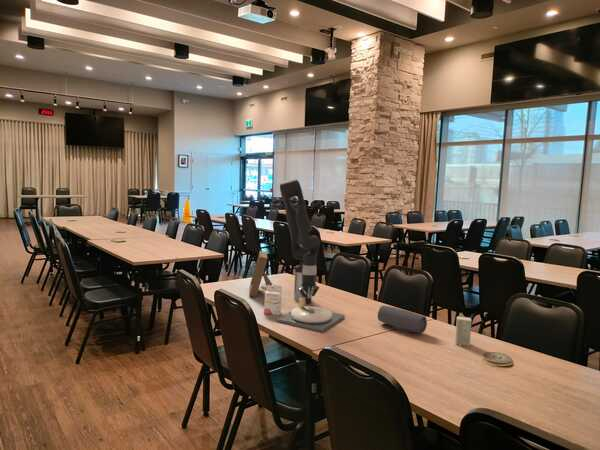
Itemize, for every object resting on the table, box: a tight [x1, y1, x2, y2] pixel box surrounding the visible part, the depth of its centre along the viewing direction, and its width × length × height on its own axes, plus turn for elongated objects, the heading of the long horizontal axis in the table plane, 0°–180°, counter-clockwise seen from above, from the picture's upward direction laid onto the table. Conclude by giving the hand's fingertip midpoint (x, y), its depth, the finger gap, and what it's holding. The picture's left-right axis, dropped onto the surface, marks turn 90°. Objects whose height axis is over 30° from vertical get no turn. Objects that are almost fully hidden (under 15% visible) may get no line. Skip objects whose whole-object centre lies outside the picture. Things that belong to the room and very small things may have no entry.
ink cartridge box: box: [263, 284, 282, 316], centre depth 223 cm, size 9×5×15 cm, turn 84°
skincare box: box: [454, 316, 472, 347], centre depth 189 cm, size 6×4×12 cm
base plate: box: [276, 311, 346, 333], centre depth 215 cm, size 26×26×2 cm
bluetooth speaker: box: [377, 304, 428, 334], centre depth 206 cm, size 23×9×10 cm, turn 47°
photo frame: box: [248, 250, 273, 298], centre depth 262 cm, size 15×22×25 cm
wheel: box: [290, 298, 333, 323], centre depth 215 cm, size 21×21×7 cm
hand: (308, 304), depth 225 cm, fingers closed
